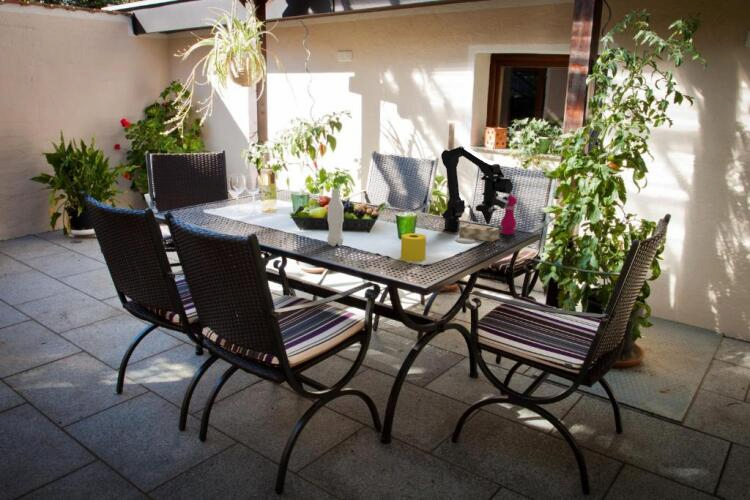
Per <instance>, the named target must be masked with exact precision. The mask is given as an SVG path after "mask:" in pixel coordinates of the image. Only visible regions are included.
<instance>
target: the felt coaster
mask: <svg viewBox="0 0 750 500" xmlns="http://www.w3.org/2000/svg"><path fill="white" fill-rule="evenodd" d="M476 240H477V239H473V238H468V237H460V236H459V237H457V238H456V239H455V242H457V243H461V244H473V243H474V242H475V243H476Z"/></svg>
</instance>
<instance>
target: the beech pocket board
mask: <svg viewBox="0 0 750 500" xmlns="http://www.w3.org/2000/svg"><path fill="white" fill-rule="evenodd" d="M470 225H474V226H482V227H489V230H485V229H478V228H471V227H468V226H470ZM499 233H500V228H499V227H494V226H487V225H479V224H473V223H464V224H462V225H460V230H459V238H460V237H468V238H473V239H475V240H480V241H485V242H492V243H493V242H495V241H496V240H499V237H500V236H499Z"/></svg>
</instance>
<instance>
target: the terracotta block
mask: <svg viewBox="0 0 750 500" xmlns="http://www.w3.org/2000/svg"><path fill="white" fill-rule="evenodd" d="M474 225H475V224H474ZM474 225H470V226H468V227H471V228H478V229H485V230H489V227H490V226H488V227H482V226H483V225H481V226H474Z"/></svg>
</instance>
